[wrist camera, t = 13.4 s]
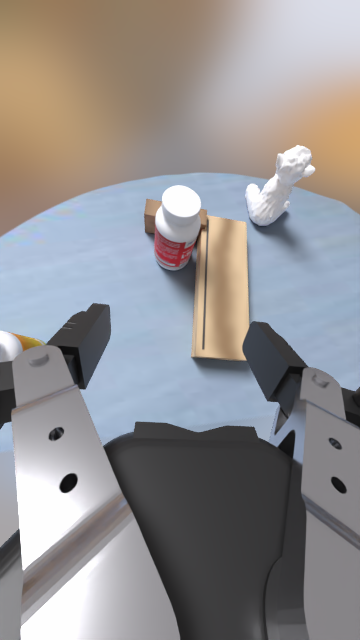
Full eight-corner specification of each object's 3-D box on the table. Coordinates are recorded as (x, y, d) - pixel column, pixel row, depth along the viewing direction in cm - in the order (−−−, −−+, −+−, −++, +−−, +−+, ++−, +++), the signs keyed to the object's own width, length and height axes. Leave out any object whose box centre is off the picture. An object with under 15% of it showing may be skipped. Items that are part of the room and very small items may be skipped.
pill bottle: (181, 277, 31) (197, 231, 21) (148, 262, 31) (146, 208, 20) (194, 249, 33) (214, 193, 22) (162, 235, 33) (167, 172, 22)
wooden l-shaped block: (238, 234, 35) (249, 218, 32) (240, 361, 29) (253, 360, 25) (147, 218, 33) (146, 198, 29) (128, 351, 27) (124, 349, 23)
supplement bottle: (40, 331, 26) (-23, 311, 17) (61, 361, 25) (10, 358, 16) (1, 356, 24) (-92, 349, 15) (23, 388, 24) (-58, 402, 15)
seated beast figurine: (285, 208, 39) (341, 142, 28) (277, 239, 37) (334, 181, 25) (245, 189, 39) (285, 114, 27) (234, 219, 36) (272, 151, 25)
